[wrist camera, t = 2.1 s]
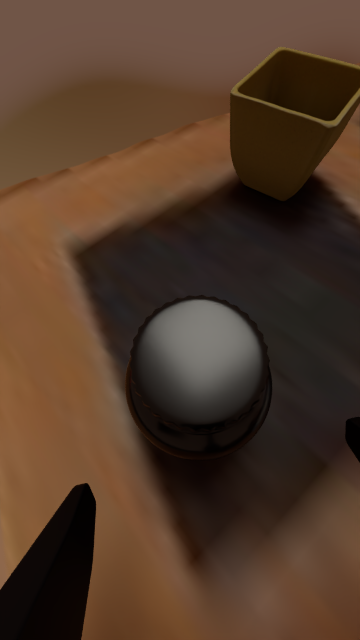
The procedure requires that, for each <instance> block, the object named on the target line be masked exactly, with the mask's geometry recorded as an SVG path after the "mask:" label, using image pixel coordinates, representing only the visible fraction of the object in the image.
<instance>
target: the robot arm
mask: <svg viewBox="0 0 360 640" xmlns="http://www.w3.org/2000/svg"><path fill="white" fill-rule="evenodd" d="M345 438H346V442H347V444H348V446H349V447H350V449H351V450H352V452H353V453H354V455H355V456H356V458H357V459H358V461H359V462H360V417H354V418H350V419H347V421H346V432H345ZM95 517H96V501H95V498H94V496H93V493H92V491H91V489H90V486H89V485H88V484H87V483H84V484H80V485H76V486H75V487H73V489H72V490H71V491H70V493H69V494H68V496H67V497H66V498H65V500H64V501H63V503H62V504H61V505H60V507H59V508H58V510H57V511H56V512H55V514H54V515H53V517H52V518H51V519H50V521H49V522H48V524H47V525H46V526H45V528H44V529H43V531H42V532H41V533H40V535H39V536H38V538H37V539H36V540H35V542H34V543H33V545H32V546H31V547H30V549H29V550H28V552H27V553H26V554H25V556H24V557H23V559H22V560H21V561H20V563H19V564H18V566H17V567H16V568H15V570H14V571H13V573H12V574H11V575H10V577H9V578H8V580H7V581H6V582H5V584H4V585H3V587H2V588H1V590H0V640H81V637H82V630H83V624H84V617H85V611H86V604H87V597H88V591H89V584H90V578H91V571H92V563H93V551H94V534H95Z"/></svg>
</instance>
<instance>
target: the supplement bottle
mask: <svg viewBox="0 0 360 640" xmlns="http://www.w3.org/2000/svg"><path fill="white" fill-rule="evenodd" d="M133 345H134V346H133V348H132V349H131V351H130V355H131V357H130V360H129V363H128V366H127V371H126V378H125V392H126V399H127V404H128V407H129V410H130V413H131V415H132V418H133V420H134V421H135V423H136V425H137V426H138V428H139V429H140V431H141V432H142V433H143V434H144V436H145V437H146V438H147V439H148V440H149V441H150V442H152V443H153V444H154V445H155V446H157V447H158V448H160V449H161V450H163V451H165V452H167V453H169V454H171V455H173V456H176V457H179V458H183V459H188V460H198V461H203V460H212V459H217V458H221V457H224V456H227V455H229V454H231V453H233V452H235V451H237V450H238V449H240V448H241V447H243V446H244V445H245V444H247V443H248V442H249V441H250V440H251V439H252V438H253V437H254V436H255V434H256V433H257V432H258V431H259V429H260V428H261V426H262V424H263V422H264V421H265V419H266V416H267V414H268V411H269V408H270V403H271V398H272V377H271V372H270V367H269V361H270V360H269V357H268V355H267V348H268V347H267V345H266V344H265V343H264V341H263V334H262V333H261V332H260V331H259V330H258V328H257V324H256V323H255V322H254V321H252V320H250V318H249V316H248V314H247V313H245V312H242V311H241V310H240V309H239V308H238V307H237V306H235V305H231V304H229V302H227V301H226V300H219V299H217V298H216V297H206V296H203V295H199V296H196V297H195V296H187V297H185V298H177V299H175V300H174V301H173V302H167V303H165V304H164V305H163V306H162V307H161V308H158V309H155V311H154V312H153V314H152V315H150V316H148V317H147V318H146V320H145V322H144V324H143V325H142V326H140V327H139V329H138V334H137V335H136V337H135V338H134V339H133Z"/></svg>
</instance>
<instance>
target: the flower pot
mask: <svg viewBox="0 0 360 640" xmlns="http://www.w3.org/2000/svg"><path fill="white" fill-rule="evenodd" d="M359 103H360V66H357V65H354V64H350V63H346V62H342V61H338V60H335V59H330V58H327V57H322V56H318V55H315V54H310V53H306V52H302V51H299V50H294V49H289V48H284V47H279V48H277V49H276V50H274V51H273V52H272V53H271V54H270V55H269V56H268V57H267V58H266V59H265V60H263V61H262V62H261V63H260V64H259V65H258V66H257V67H256V68H255V69H254V70H252V71H251V72H250V73H249V74H248V75H247V76H245V77H244V78H243V79H242V80H241V81H240V82H239V83H238V84H237V85H235V86H234V88H233V89H232V91H231V93H230V150H231V157H232V162H233V165H234V168H235V170H236V173H237V175H238V176H239V178H240V180H241V181H242V183H243V184H244V185H245V186H248V187H250V188H252V189H255V190H257V191H259V192H262V193H264V194H266V195H269V196H271V197H273V198H275V199H277V200H280V201H286V200H287V199H289V198H290V197H292V196H293V195H294V194H295V193H297V192H298V190H299V189H300V188H301V187H302V186H303V185H304V184H305V182H306V181H307V180H308V178H309V177H310V175H311V174H312V173H313V171H314V170H315V169H316V167H317V166H318V165H319V163H320V162H321V161H322V159H323V158H324V157H325V155H326V154H327V153H328V152H329V150H330V149H331V148H332V147H333V145H334V144H335V142H336V141H337V140H338V138H339V137H340V135H341V134H342V132H343V130H344V129H345V127H346V125H347V124H348V122H349V120H350V118H351V117H352V115H353V113H354V112H355V110H356V108H357V107H358V105H359Z"/></svg>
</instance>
